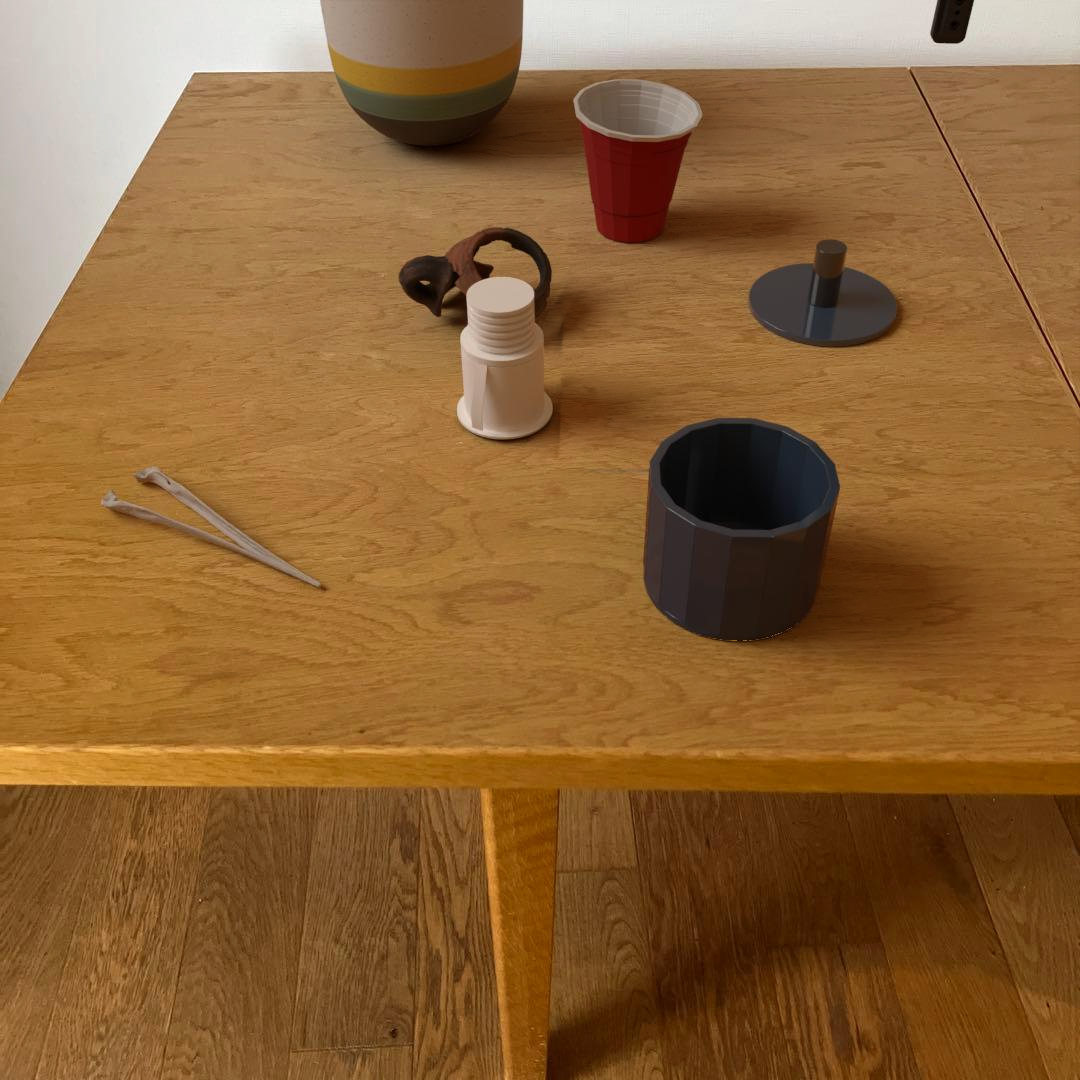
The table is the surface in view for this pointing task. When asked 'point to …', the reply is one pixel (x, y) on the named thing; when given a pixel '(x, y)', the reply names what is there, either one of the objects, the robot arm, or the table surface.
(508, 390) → the downlight
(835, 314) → the lid
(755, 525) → the tin
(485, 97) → the planter
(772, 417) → the table surface
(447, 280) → the brown curved piece
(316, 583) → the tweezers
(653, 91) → the plastic cup
